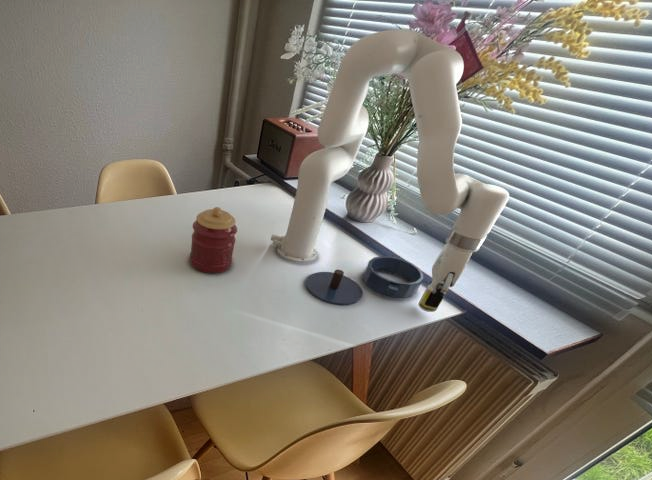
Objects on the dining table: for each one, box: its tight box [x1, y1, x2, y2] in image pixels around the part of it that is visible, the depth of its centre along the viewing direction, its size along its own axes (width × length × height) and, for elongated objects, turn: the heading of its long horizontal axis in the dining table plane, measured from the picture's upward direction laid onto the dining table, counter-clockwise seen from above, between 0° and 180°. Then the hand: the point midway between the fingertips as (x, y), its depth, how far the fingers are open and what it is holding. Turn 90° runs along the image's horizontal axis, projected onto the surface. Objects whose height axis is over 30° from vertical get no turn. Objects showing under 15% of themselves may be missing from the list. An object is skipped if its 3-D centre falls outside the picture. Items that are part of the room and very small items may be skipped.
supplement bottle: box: [417, 280, 445, 313], centre depth 115 cm, size 5×5×8 cm
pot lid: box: [304, 269, 364, 306], centre depth 123 cm, size 16×16×6 cm
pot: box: [362, 254, 424, 300], centre depth 127 cm, size 15×21×5 cm
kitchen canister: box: [189, 206, 238, 274], centre depth 126 cm, size 13×13×18 cm
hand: (430, 299), depth 116 cm, fingers closed on supplement bottle, 4 cm apart
